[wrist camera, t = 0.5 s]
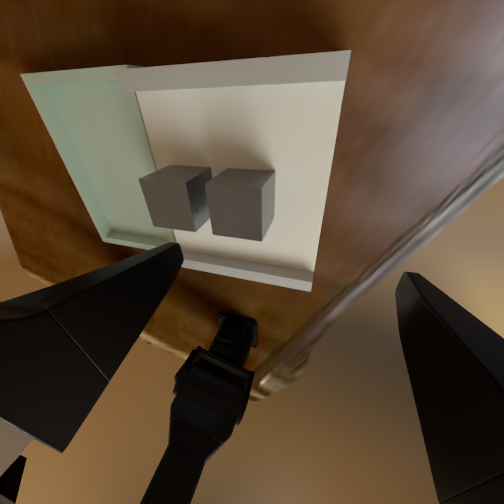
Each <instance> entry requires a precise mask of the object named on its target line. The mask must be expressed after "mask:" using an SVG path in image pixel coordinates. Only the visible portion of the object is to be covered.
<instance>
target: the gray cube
mask: <svg viewBox="0 0 504 504" xmlns="http://www.w3.org/2000/svg"><path fill="white" fill-rule="evenodd" d="M211 179H212V172H211V167H199V166H180V165H168V166H166V167H164V168H162V169H159V170H157V171H155V172H153V173H150V174H148V175H146V176H144V177H141V178H139V179H138V180H139V183H140V186H141V189H142V192H143V195H144V198H145V201H146V204H147V207H148V210H149V213H150V217H151V220H152V223H153V226H154V227H162V228H169V229H176V230H183V231H190V232H196V231H197V230H199V229H200V228H201V227H202V226H203V225H204V224H205V223H206V222H207V221H208V220H209V219H210V214H209V208H208V202H207V195H206V189H205V183H207V182H208V181H210V180H211Z"/></svg>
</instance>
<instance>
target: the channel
mask: <svg viewBox="0 0 504 504" xmlns="http://www.w3.org/2000/svg"><path fill="white" fill-rule="evenodd" d="M350 54H351V50H345V51H333V52H321V53H310V54H298V55H286V56H274V57H262V58H250V59H238V60H226V61H214V62H202V63H190V64H178V65H166V66H155V67H143V68H131V69H119V70H115V74H116V77H117V80H118V84H119V87H120V90H121V92H136V94H137V98H138V102H139V105H140V109H141V113H142V116H143V120H144V124H145V127H146V131H147V135H148V138H149V142H150V146H151V150H152V153H153V157H154V161H155V164H156V168H157V170H159V169H162V168H164V167H166V166H168V165H180V166H199V167H211V172H212V179H213V178H214V177H215V176H217V175H218V174H220V173H221V172H223V171H224V170H225V169H227V168H236V169H255V170H274V171H276V175H275V212H274V219H273V221H272V223H271V225H270V227H269V229H268V231H267V233H266V235H265V237H264V239H263V241H262V242H261V241H253V240H246V239H239V238H232V237H225V236H218V235H213V234H212V227H211V221H210V219H209V220H208V221H207V222H206V223H205V224H204V225H203V226H202V227H201V228H200V229H199V230H197V231H196V232H190V231H183V230H176V229H173V231H174V234H175V238H176V242H177V243H179V244H180V246H181V249H182V253H183V256H184V262H183V264H182V266H181V267H184V268H189V269H194V270H199V271H205V272H210V273H215V274H220V275H226V276H231V277H236V278H241V279H246V280H252V281H257V282H262V283H267V284H273V285H278V286H283V287H288V288H294V289H299V290H304V291H309V292H311V287H312V281H313V273H314V267H315V261H316V255H317V249H318V243H319V237H320V231H321V225H322V219H323V213H324V207H325V201H326V195H327V189H328V183H329V177H330V171H331V165H332V159H333V153H334V147H335V141H336V135H337V129H338V123H339V117H340V111H341V105H342V99H343V93H344V87H345V81H346V77H347V71H348V66H349V60H350Z"/></svg>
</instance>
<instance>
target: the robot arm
mask: <svg viewBox="0 0 504 504" xmlns="http://www.w3.org/2000/svg"><path fill="white" fill-rule="evenodd" d="M183 262H184V256H183V253H182V249H181V246H180V244H179V243H175V242H169V243H166V244H163V245H161V246H158V247H155V248H153V249H150V250H147V251H145V252H142V253H139V254H137V255H134V256H131V257H129V258H126V259H123V260H121V261H118V262H115V263H113V264H110V265H107V266H105V267H102V268H99V269H97V270H94V271H91V272H89V273H86V274H83V275H81V276H78V277H75V278H72V279H70V280H67V281H64V282H61V283H58V284H55V285H52V286H49V287H47V288H43V289H40V290H37V291H34V292H31V293H28V294H25V295H22V296H20V297H16V298H13V299H10V300H6V301H3V302H0V504H15V503H16V499H17V495H18V491H19V487H20V483H21V478H22V475H23V471H24V467H25V463H26V459H27V458H26V457H24V456H22V455H20V454H21V453H22V452H23V451H24V449H25V448H26V447H27V446H28V445H29V444H30V443H31V441H32V440H33V439H35V440H37V441H39V442H41V443H43V444H45V445H46V446H48V447H50V448H52V449H54V450H56V451H58V452H60V453H63V451H64V450H65V449H66V447H67V446H68V445H69V443H70V442H71V440H72V439H73V437H74V435H75V434H76V433H77V431H78V429H79V428H80V426H81V425H82V423H83V422H84V420H85V419H86V417H87V416H88V414H89V413H90V411H91V409H92V408H93V406H94V405H95V403H96V401H97V400H98V399H99V397H100V396H101V394H102V392H103V391H104V389H105V388H106V386H107V385H108V383H109V381H110V380H111V378H112V377H113V375H114V374H115V372H116V371H117V369H118V368H119V366H120V364H121V363H122V361H123V360H124V358H125V357H126V355H127V354H128V352H129V351H130V349H131V348H132V346H133V345H134V343H135V342H136V340H137V339H138V337H139V335H140V334H141V332H142V331H143V329H144V328H145V326H146V325H147V323H148V322H149V320H150V319H151V317H152V315H153V314H154V312H155V311H156V309H157V308H158V306H159V305H160V303H161V302H162V300H163V299H164V297H165V295H166V294H167V292H168V291H169V289H170V287H171V285H172V284H173V282H174V280H175V278H176V276H177V274H178V272H179V270H180V268H181V266H182V264H183ZM395 295H396V306H397V316H398V327H399V334H400V340H401V344H402V348H403V353H404V357H405V361H406V365H407V370H408V374H409V378H410V382H411V387H412V391H413V395H414V400H415V404H416V408H417V412H418V417H419V421H420V425H421V429H422V434H423V438H424V442H425V446H426V451H427V455H428V459H429V464H430V468H431V472H432V476H433V481H434V485H435V489H436V494H437V497H438V501H439V504H504V338H502V337H501V336H500V335H498V334H497V333H496V332H494V331H493V330H492V329H491V328H489V327H488V326H487V325H485V324H484V323H483V322H481V321H480V320H479V319H478V318H476V317H475V316H474V315H472V314H471V313H470V312H468V311H467V310H466V309H464V308H463V307H462V306H461V305H459V304H458V303H457V302H455V301H454V300H453V299H451V298H450V297H449V296H448V295H446V294H445V293H444V292H442V291H441V290H440V289H438V288H437V287H436V286H434V285H433V284H432V283H430V282H429V281H428V280H427V279H425V278H424V277H423V276H421V275H420V274H419V273H413V272H404V273H403V274H402V276H401V279H400V281H399V284H398V286H397V288H396V294H395ZM217 320H218V326H219V330H218V331H217V333H216V335H215V337H214V339H213V341H212V343H211V345H210V347H209V349H208V351H207V350H205V349H203V348H202V347H200V346H198V347H197V349H195V350H192V351H191V353H190V355H189V357H188V358H187V360H186V361H185V363H184V364H183V366H182V367H181V368H180V369H179V371H178V372H177V374H176V375H175V386H174V387H175V388H174V390H173V394H175V395H176V396H175V398H174V400H173V402H172V405H171V409H170V419H169V440H168V447H167V449H166V451H165V453H164V455H163V457H162V459H161V461H160V463H159V465H158V467H157V469H156V471H155V474H154V476H153V478H152V480H151V482H150V484H149V486H148V488H147V490H146V492H145V494H144V496H143V499H142V501H141V503H140V504H190V503H191V500H192V498H193V495H194V492H195V489H196V487H197V484H198V481H199V478H200V476H201V473H202V470H203V467H204V465H205V463H206V461H207V460H208V459H209V458H210V457H211V456H212V455H213V454H214V453H215V452H216V451H217V450H218V449H219V448H220V447H221V446H222V445H223V444H224V443H225V442H226V441H227V440H228V439H229V438H230V436H231V435H232V432H233V429H234V426H235V425H237V426H238V425H239V424H240V422H241V420H242V417H243V415H244V412H245V409H246V406H247V403H248V399H249V395H250V391H251V386H252V382H253V377H254V373H255V372H253V371H249V370H247V369H245V368H244V367H245V364H246V361H247V358H248V355H249V352H250V349H251V347H253V348H257V346H258V330H257V322H256V321H253V320H249V319H245V318H241V317H237V316H232V315H228V314H224V313H220V312H219V313H218V314H217Z"/></svg>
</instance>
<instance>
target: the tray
mask: <svg viewBox="0 0 504 504" xmlns="http://www.w3.org/2000/svg"><path fill="white" fill-rule="evenodd" d="M131 68H143V66H134V65H117V66H106V67H95V68H84V69H73V70H61V71H50V72H39V73H28V74H20V75H21V77H22V79H23V81H24V83H25V85H26V87H27V89H28V91H29V93H30V95H31V97H32V99H33V101H34V103H35V105H36V107H37V109H38V111H39V113H40V115H41V117H42V119H43V121H44V124H45V126H46V128H47V130H48V132H49V134H50V136H51V138H52V140H53V142H54V144H55V146H56V148H57V150H58V152H59V154H60V156H61V158H62V160H63V162H64V164H65V166H66V168H67V170H68V172H69V174H70V176H71V178H72V180H73V182H74V184H75V186H76V188H77V190H78V192H79V194H80V196H81V198H82V200H83V202H84V204H85V206H86V208H87V210H88V212H89V214H90V216H91V218H92V220H93V222H94V224H95V226H96V228H97V230H98V232H99V234H100V236H101V238H102V240H103V242H108V243H113V244H119V245H125V246H130V247H136V248H142V249H147V250H150V249H153V248H155V247H158V246H161V245H163V244H166V243H169V242H175V243H177V242H176V238H175V234H174V231H173V229H169V228H162V227H154V226H153V223H152V220H151V217H150V213H149V210H148V207H147V204H146V201H145V198H144V195H143V192H142V189H141V186H140V183H139V180H138V179H139V178H141V177H144V176H146V175H148V174H150V173H153V172H155V171H157V168H156V164H155V161H154V157H153V153H152V150H151V146H150V142H149V138H148V135H147V131H146V127H145V124H144V120H143V116H142V113H141V109H140V105H139V102H138V98H137V94H136V92H121V90H120V87H119V84H118V80H117V77H116V74H115V70H119V69H131Z"/></svg>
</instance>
